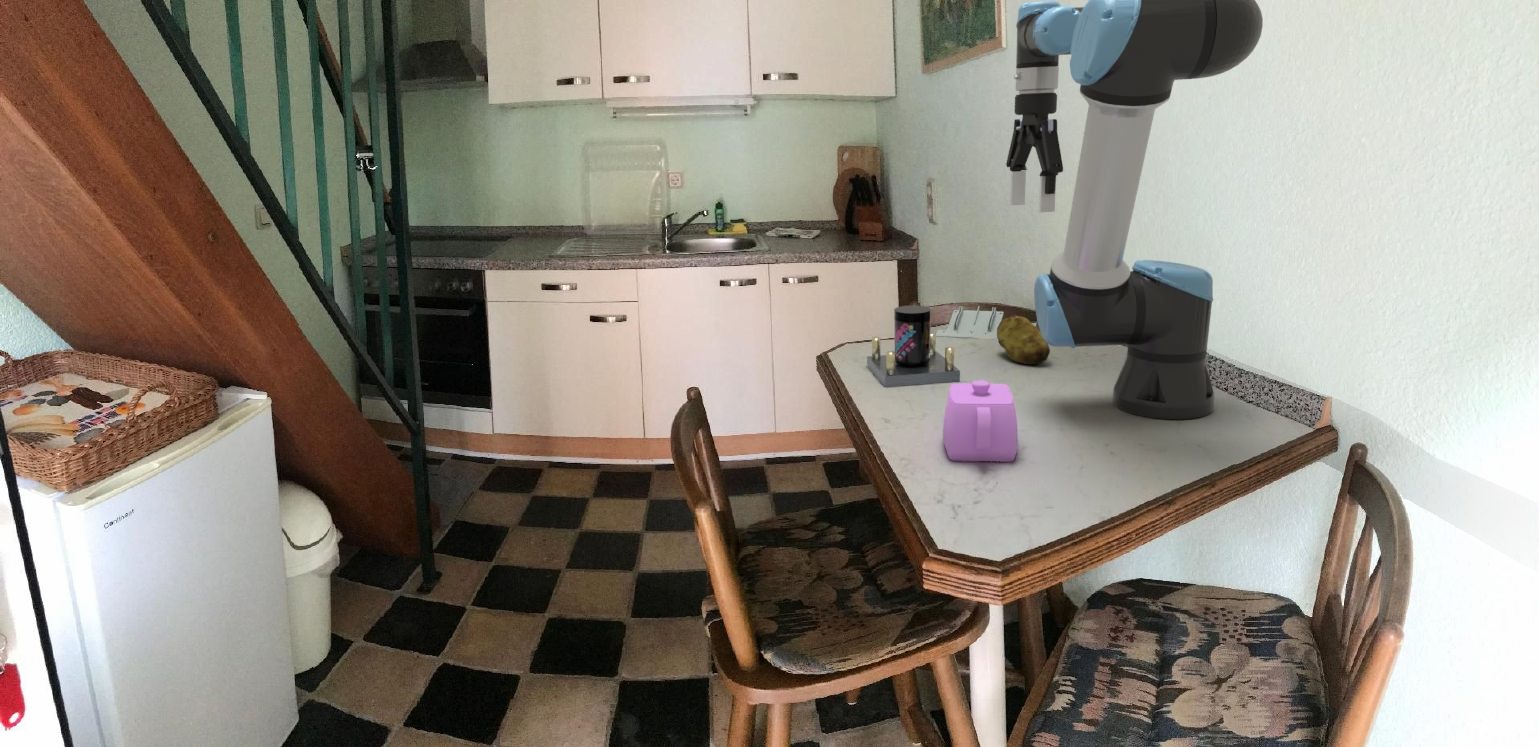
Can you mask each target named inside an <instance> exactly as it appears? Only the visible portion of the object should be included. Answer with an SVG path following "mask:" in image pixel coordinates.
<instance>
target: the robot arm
mask: <svg viewBox="0 0 1539 747" xmlns="http://www.w3.org/2000/svg"><path fill="white" fill-rule="evenodd" d="M1017 12H1018V13H1017V14H1018V15H1017V22H1016V56H1015V57H1016V60H1015V61H1016V65H1015V66H1016V67H1015V68H1016V69H1015V74H1014V75H1013V79H1014V80H1015V91H1016V92H1018V94H1016V95H1015V96H1014V110H1013V111H1014V114H1015V115H1016V116H1022V118H1018V119H1017V118H1016V119H1014V122H1013V131H1012V136H1011V139H1010V140H1011V141H1010V146H1009V149H1008V150H1009V151H1008V155H1007V159H1006V163H1005V166H1006V168H1009V170H1010V171H1011V172H1010V173H1011V174H1010V197H1009V198H1010V200H1009V202H1010V203H1009V205H1010V206H1025V204H1026V203H1025V202H1026V200H1025V199H1026V179H1027V178H1026V177H1027V170H1028V168H1027V166H1026V164H1027V161H1028V159H1029V156H1030V154H1031V151H1032V149H1033V147H1034V148H1035V150H1036V155H1037V158H1038V162H1039V165H1040V169H1041V172H1040V173H1039V175H1038V176H1039V199H1038V200H1039V201H1038V213H1052V212H1053V213H1054V212H1056V211H1055V210H1056V209H1055V207H1056V189H1057V188H1056V187H1057V186H1056V185H1057V176H1058V175H1059V174H1060V173H1063V171H1064V166H1063V160H1062V152H1061V147H1060V141H1059V136H1058V120H1057V119H1055V118H1053V119H1049V114H1050V115H1051V114H1055V113H1056V112H1057V108H1058V106H1057V105H1058V94H1057V93H1056V92H1055V90H1057V89H1058V87H1059V71H1060V70H1059V69H1060V67H1059V65H1060V64H1059V59H1060V56H1064V55H1071V56H1070V60H1069V72H1070V75H1071V78H1072V79H1073V80H1074V82H1075V83H1076V84H1079V86H1080V87H1079V94H1080V95H1081V96H1082V98H1083V99H1084V100H1085V101H1086V103H1087V104H1088V106H1087V107H1088V109H1087V112H1086V113H1087V114H1086V118H1085V119H1086V120H1085V125H1084V126H1085V127H1084V131H1083V138H1082V144H1081V149H1080V155H1079V160H1078V167H1077V172H1076V173H1077V174H1076V178H1075V179H1076V180H1075V184H1074V189H1073V196H1072V201H1071V209H1070V214H1069V219H1068V225H1067V231H1066V236H1065V244H1064V250H1063V251H1062V253H1059V254H1058V255H1056V256H1055V257H1054V258H1053V260H1052V261H1051V264H1050V265H1051V266H1050V272H1049V273H1045V272H1044V273H1042V274H1040V275H1038V276H1037V277H1036V278H1035V280H1034V281H1035V282H1034V290H1033V292H1034V293H1033V295H1034V296H1033V298H1034V307H1035V316H1036V322H1037V321H1038V325H1039V329H1040V332H1041V334H1042V337H1043V338H1044V340H1045V341H1046V342H1047V343H1048V345H1049V346H1051V347H1057V348H1058V347H1059V348H1060V347H1061V348H1062V347H1063V348H1071V349H1075V348H1076V347H1081V348H1082V347H1098V346H1099V347H1100V346H1101V347H1102V346H1127V354H1126V358H1125V361H1124V363H1123V365H1122V367H1121V369H1120V372H1119V374H1118V376H1117V379H1116V381H1115V384H1114V386H1113V389H1112V390H1113V391H1112V403H1113V405H1114V406H1115V407H1117V408H1119V409H1120V410H1122V411H1124V412H1128V413H1130V414H1134V415H1138V416H1142V417H1148V418H1153V419H1163V420H1187V419H1196V418H1201V417H1205V416H1208V415H1209V414H1211V413H1213V411H1214V406H1215V405H1214V403H1215V393H1214V389H1213V385H1212V382H1211V378H1210V375H1209V374H1210V373H1209V369H1208V367H1207V353H1208V351H1207V350H1208V341H1209V334H1210V333H1209V332H1210V323H1211V314H1212V303H1213V301H1214V298H1213V293H1214V291H1213V289H1214V288H1213V287H1214V285H1213V283H1214V281H1213V276H1212V275H1211V273H1209V271H1208V270H1205V269H1203V268H1201V267H1198V266H1194V265H1190V264H1189V265H1188V264H1185V263H1181V262H1180V263H1177V262H1171V261H1164V260H1153V259H1142V260H1136V261H1135V262H1134V264H1133V266H1131V269H1132V270H1131V269H1130V267H1129V265H1128V264H1127V262H1126V261H1124V255H1125V250H1126V245H1127V240H1128V236H1129V232H1130V227H1131V222H1132V218H1133V212H1134V209H1135V205H1136V204H1135V203H1136V199H1137V194H1138V191H1139V190H1138V189H1139V185H1140V180H1141V176H1142V171H1143V167H1144V164H1145V157H1146V152H1147V148H1148V143H1149V140H1150V135H1151V130H1152V126H1153V125H1152V124H1153V120H1154V115H1155V111H1156V110H1157V109H1158V108H1159V107H1161V106H1162V105H1163V104H1165V103H1166V102H1168V101H1169V100H1170V98H1171V93H1172V90H1173V86H1174V82H1175V81H1181V80H1193V79H1204V78H1209V77H1210V78H1211V77H1214V76H1218V75H1221V74H1223V73H1224V74H1225V73H1226V72H1228V71H1230V70H1232V69H1234V68H1235V67H1238V66H1239V65H1240V64H1241V63H1243V62H1244V61H1245V60H1246V59H1247V58H1248V57H1249V56H1250V55H1251V54H1252V53H1253V52H1254V50H1255V48H1256V46H1257V45H1258V43H1259V40H1260V39H1261V36H1262V31H1263V25H1264V24H1263V14H1262V11H1261V8H1260V6H1259V4H1258V2H1257V1H1256V0H1088V2H1086V3H1085V5H1084V6H1083V7H1082V6H1081V7H1072V6H1069V5H1061V4H1060V2H1058V1H1056V0H1055V1H1054V0H1043V1H1042V0H1041V1H1040V0H1039V1H1032V2H1025V3H1022V4H1021V5H1020V6H1019V8H1018V11H1017Z"/></svg>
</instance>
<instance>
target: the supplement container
mask: <svg viewBox="0 0 1539 747" xmlns="http://www.w3.org/2000/svg"><path fill="white" fill-rule="evenodd" d="M893 311H894V312H893V314H894V316H893V320H894V331H893V332H894V338H893V339H894V352H895V362H896V364H897V365H899V366H902V367H910V368H915V367H923V366H926V365H927V364H928V363H929V362H930V333H931V322H932V321H931V319H932V309H931V307H929V306H923V305H902V306H898V307H895V308H894V309H893Z"/></svg>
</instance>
